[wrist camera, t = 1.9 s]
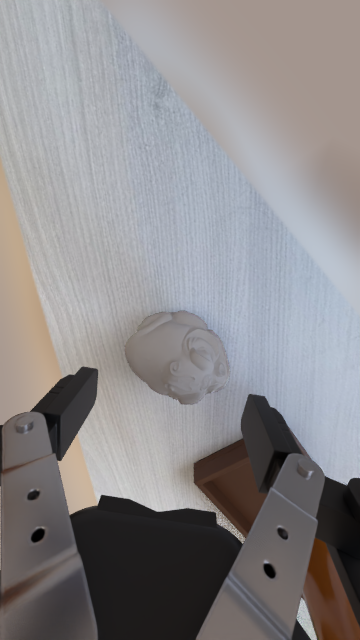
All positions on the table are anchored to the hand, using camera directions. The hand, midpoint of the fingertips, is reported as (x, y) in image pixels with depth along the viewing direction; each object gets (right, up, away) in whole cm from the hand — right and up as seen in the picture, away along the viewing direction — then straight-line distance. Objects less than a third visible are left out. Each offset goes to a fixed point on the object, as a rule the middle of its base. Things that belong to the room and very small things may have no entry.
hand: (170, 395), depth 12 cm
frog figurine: (0, +3, +8) cm, 8 cm away
